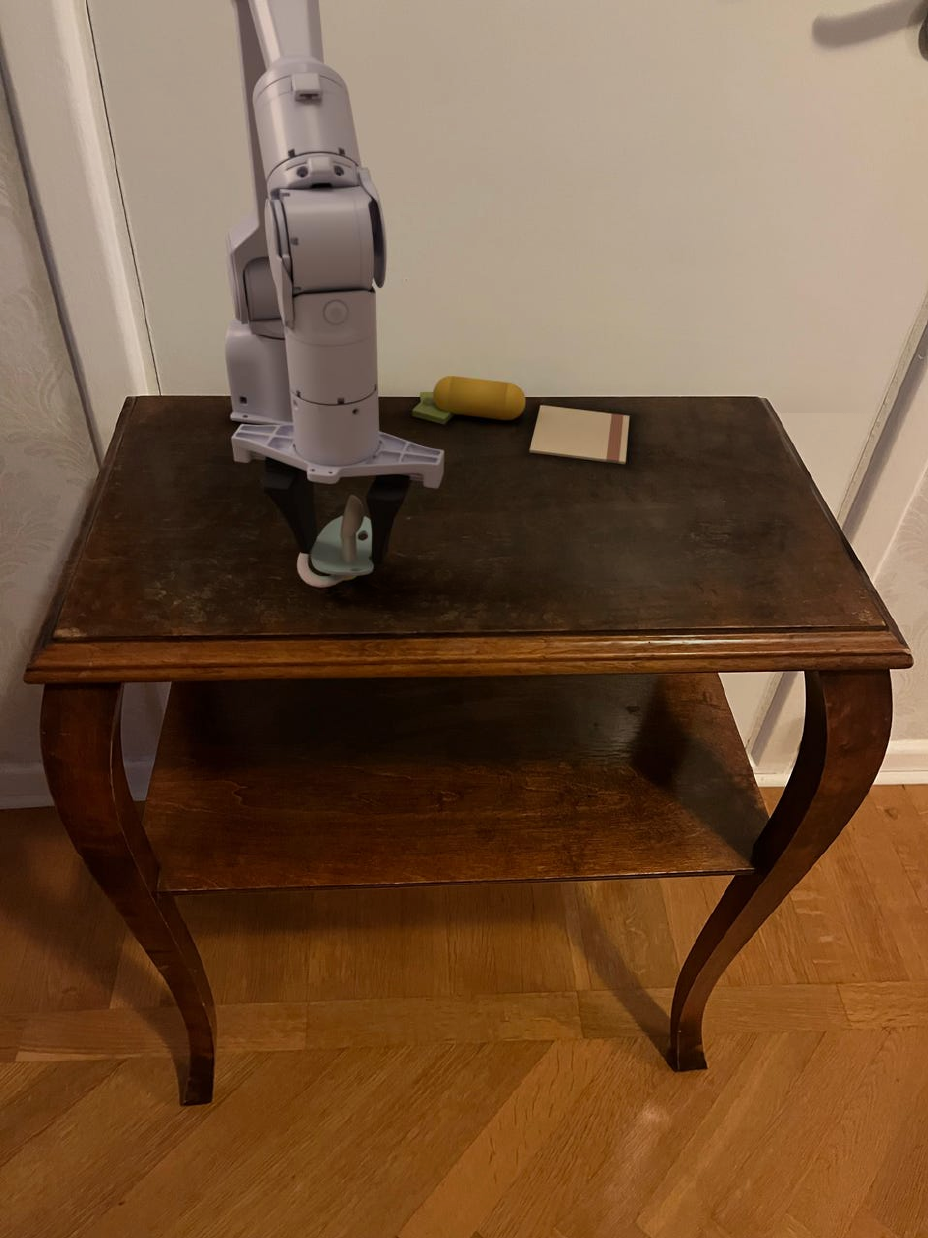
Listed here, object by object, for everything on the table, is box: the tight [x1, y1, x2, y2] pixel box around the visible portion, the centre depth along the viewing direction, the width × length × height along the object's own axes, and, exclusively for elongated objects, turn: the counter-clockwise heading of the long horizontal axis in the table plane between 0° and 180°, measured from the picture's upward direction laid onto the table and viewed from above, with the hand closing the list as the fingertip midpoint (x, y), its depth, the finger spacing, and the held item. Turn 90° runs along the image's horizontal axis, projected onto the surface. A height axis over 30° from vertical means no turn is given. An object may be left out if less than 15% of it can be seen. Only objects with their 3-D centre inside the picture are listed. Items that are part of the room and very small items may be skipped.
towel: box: [529, 404, 630, 465], centre depth 88 cm, size 9×9×1 cm
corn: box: [411, 375, 526, 426], centre depth 89 cm, size 11×6×4 cm, turn 80°
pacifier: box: [296, 494, 375, 589], centre depth 67 cm, size 7×6×6 cm
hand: (343, 551), depth 68 cm, fingers closed on pacifier, 5 cm apart
